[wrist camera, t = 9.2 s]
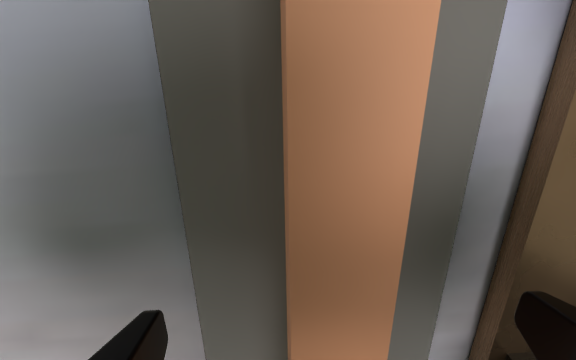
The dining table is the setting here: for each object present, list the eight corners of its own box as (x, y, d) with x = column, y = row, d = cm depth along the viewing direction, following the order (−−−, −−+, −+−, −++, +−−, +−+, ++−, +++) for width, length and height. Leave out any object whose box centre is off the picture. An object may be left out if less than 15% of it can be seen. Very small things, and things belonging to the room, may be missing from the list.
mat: (412, 391, 16) (418, 403, 15) (217, 404, 15) (215, 417, 15) (515, -104, 8) (532, -115, 8) (139, -108, 8) (128, -120, 7)
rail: (349, 407, 15) (368, 487, 12) (289, 411, 15) (293, 493, 12) (399, -119, 7) (475, -224, 5) (277, -120, 7) (282, -229, 5)
